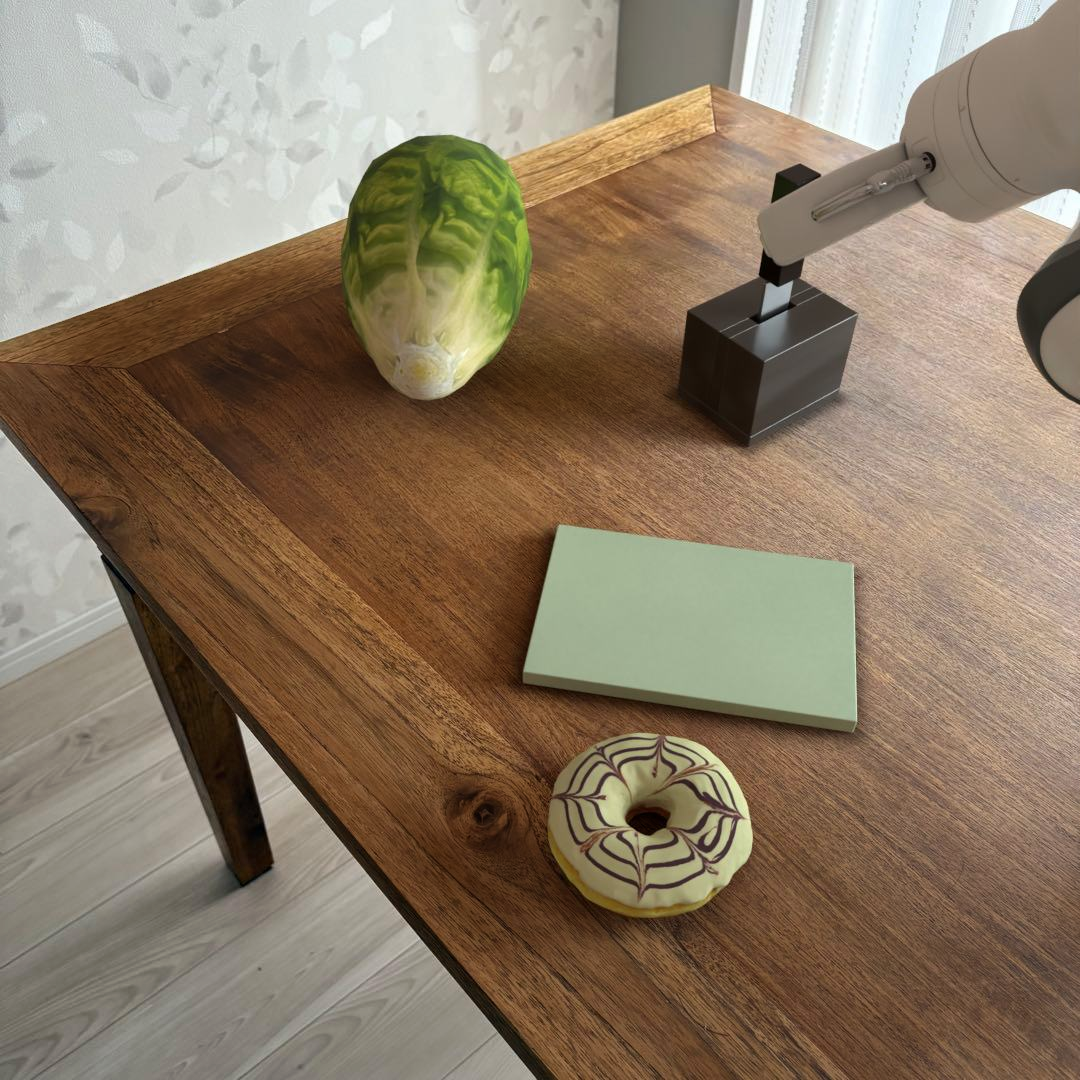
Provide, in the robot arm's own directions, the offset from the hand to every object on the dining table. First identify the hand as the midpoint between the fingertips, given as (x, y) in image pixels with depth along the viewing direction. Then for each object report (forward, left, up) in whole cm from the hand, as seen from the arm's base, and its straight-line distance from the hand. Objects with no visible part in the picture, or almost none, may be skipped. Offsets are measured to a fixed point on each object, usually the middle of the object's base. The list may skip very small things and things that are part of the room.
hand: (819, 221), depth 75 cm
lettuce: (+23, -17, -17) cm, 33 cm away
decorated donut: (+25, +30, -17) cm, 43 cm away
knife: (+1, -3, -16) cm, 16 cm away
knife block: (+1, -3, -17) cm, 17 cm away
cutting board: (+16, +17, -17) cm, 29 cm away
